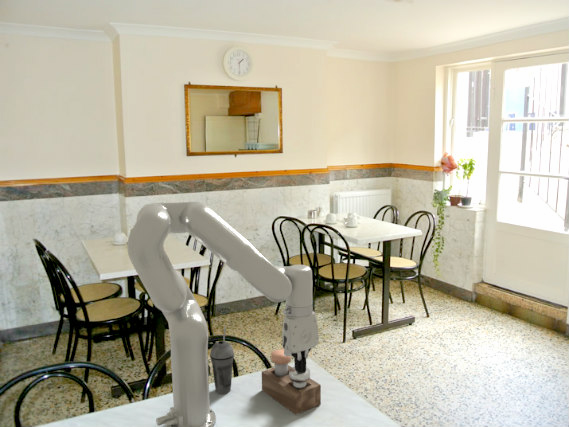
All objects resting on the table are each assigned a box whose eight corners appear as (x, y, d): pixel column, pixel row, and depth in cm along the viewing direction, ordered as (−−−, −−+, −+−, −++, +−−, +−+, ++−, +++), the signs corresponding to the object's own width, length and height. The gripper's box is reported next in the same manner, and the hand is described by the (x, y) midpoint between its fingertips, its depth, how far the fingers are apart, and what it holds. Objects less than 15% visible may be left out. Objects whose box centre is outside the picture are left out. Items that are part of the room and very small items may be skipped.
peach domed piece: (279, 383, 145) (278, 359, 144) (267, 376, 150) (267, 352, 149) (295, 377, 149) (295, 354, 147) (283, 370, 153) (283, 347, 152)
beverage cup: (208, 387, 152) (205, 325, 149) (230, 382, 155) (228, 321, 152) (215, 398, 146) (212, 334, 143) (238, 393, 149) (236, 330, 146)
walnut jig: (295, 414, 137) (295, 394, 136) (261, 390, 150) (261, 371, 150) (320, 404, 142) (320, 384, 141) (285, 381, 156) (285, 363, 155)
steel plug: (297, 403, 138) (297, 378, 137) (285, 394, 143) (284, 370, 142) (314, 396, 142) (314, 371, 140) (301, 388, 146) (301, 364, 145)
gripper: (285, 319, 131) (287, 384, 134) (328, 307, 140) (329, 368, 143) (269, 311, 137) (271, 373, 140) (311, 300, 146) (312, 358, 149)
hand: (300, 370), depth 141 cm, fingers closed
